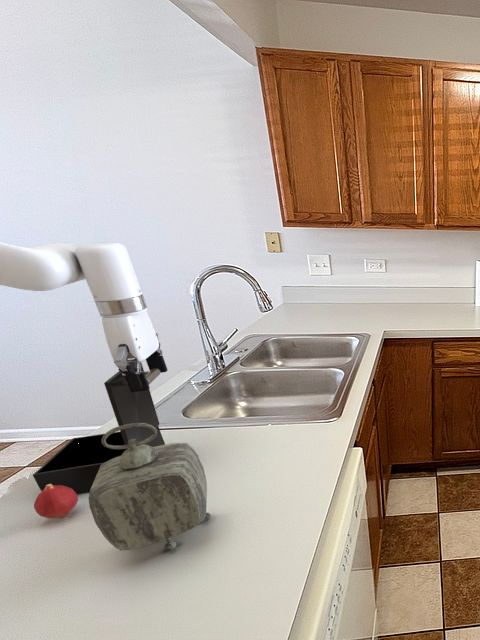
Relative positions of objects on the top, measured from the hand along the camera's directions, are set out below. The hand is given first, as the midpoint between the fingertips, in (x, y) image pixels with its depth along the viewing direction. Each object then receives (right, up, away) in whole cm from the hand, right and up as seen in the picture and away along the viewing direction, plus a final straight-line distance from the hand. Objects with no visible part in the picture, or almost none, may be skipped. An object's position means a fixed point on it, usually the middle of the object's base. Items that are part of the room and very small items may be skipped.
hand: (150, 381), depth 87 cm
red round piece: (-10, -27, -8) cm, 30 cm away
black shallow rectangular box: (-13, -21, +4) cm, 25 cm away
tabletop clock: (+16, -29, -14) cm, 36 cm away
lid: (-5, -6, +1) cm, 7 cm away
